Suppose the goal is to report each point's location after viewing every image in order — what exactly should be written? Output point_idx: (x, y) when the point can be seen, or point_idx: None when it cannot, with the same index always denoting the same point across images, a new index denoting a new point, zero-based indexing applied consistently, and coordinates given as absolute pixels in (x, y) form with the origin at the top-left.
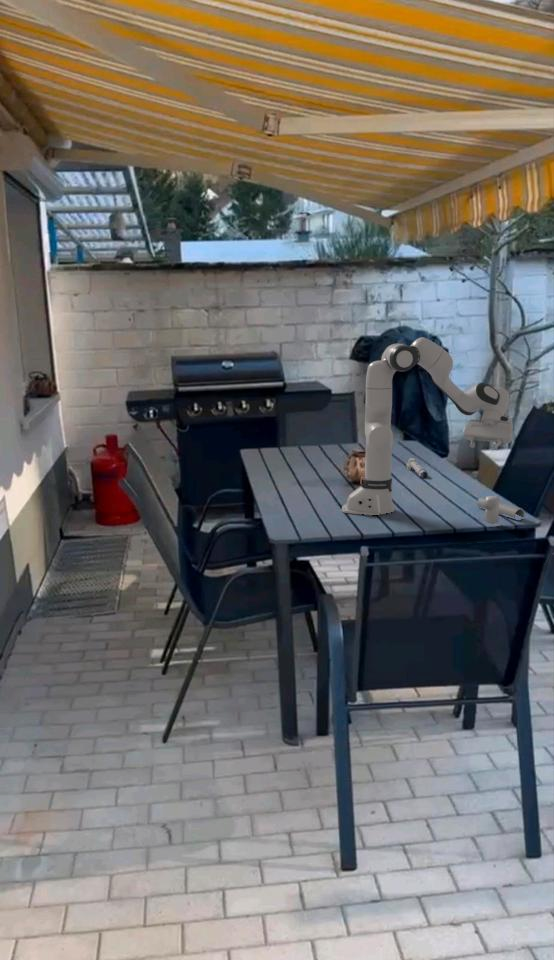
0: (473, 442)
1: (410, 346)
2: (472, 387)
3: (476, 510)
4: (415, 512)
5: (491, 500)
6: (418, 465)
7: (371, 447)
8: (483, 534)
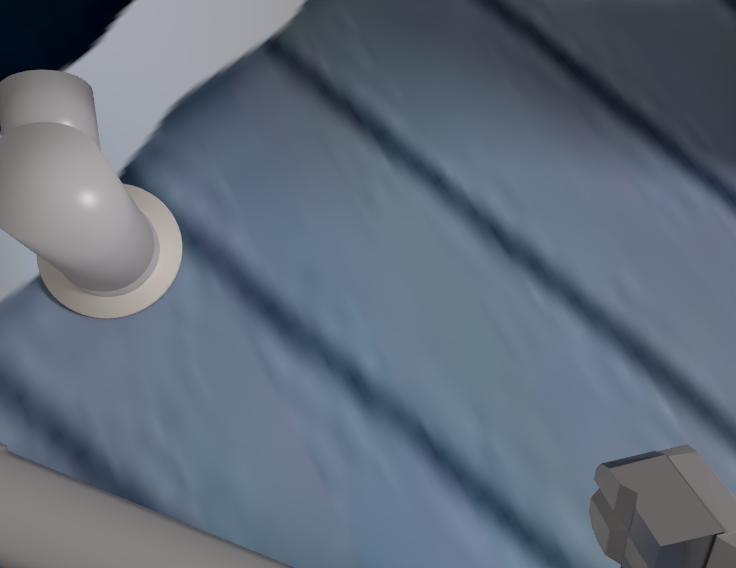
0: (682, 538)
1: None
2: None
3: (382, 545)
4: (661, 222)
5: (14, 90)
6: None
7: None
8: (62, 33)
